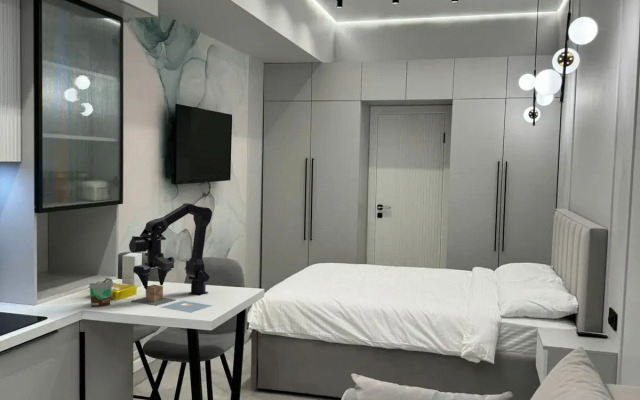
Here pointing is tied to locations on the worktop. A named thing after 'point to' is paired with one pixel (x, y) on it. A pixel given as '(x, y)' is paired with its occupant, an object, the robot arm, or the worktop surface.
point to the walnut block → (154, 293)
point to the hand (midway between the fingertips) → (153, 287)
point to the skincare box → (131, 268)
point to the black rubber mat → (143, 300)
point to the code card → (186, 306)
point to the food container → (101, 293)
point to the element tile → (122, 291)
